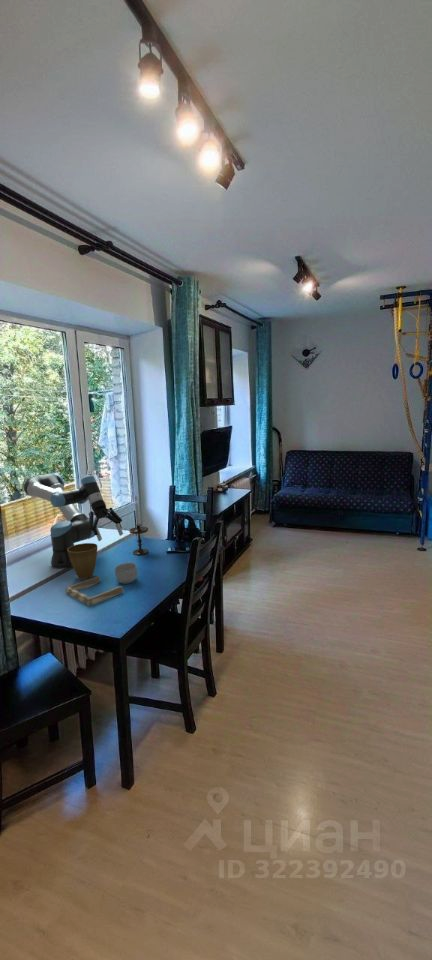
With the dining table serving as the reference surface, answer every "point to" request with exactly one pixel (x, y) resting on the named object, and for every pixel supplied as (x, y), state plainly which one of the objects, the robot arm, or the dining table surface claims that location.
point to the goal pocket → (95, 599)
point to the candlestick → (138, 532)
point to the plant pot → (83, 559)
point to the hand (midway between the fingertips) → (111, 537)
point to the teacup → (126, 572)
